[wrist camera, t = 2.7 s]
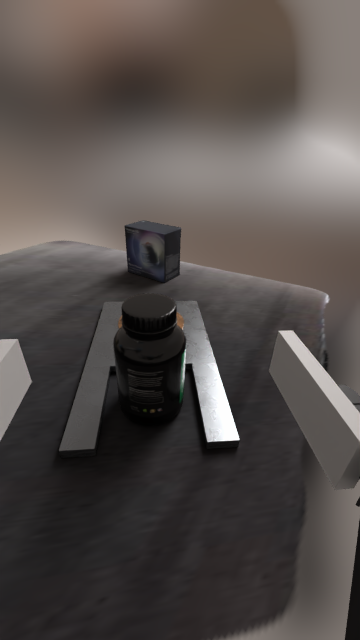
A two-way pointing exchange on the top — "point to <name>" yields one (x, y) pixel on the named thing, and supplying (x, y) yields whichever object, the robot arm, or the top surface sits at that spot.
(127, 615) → the top surface
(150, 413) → the supplement bottle
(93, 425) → the rail plate
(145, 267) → the small box
